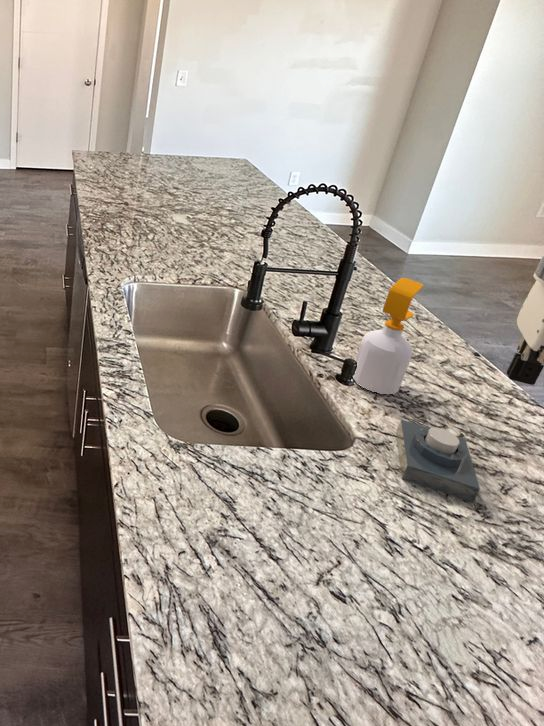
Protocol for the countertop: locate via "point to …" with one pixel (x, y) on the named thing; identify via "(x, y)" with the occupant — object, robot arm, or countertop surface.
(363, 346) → the soap bottle
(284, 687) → the countertop surface
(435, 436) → the flush button
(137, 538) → the countertop surface
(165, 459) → the countertop surface
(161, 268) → the countertop surface
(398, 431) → the push button base
